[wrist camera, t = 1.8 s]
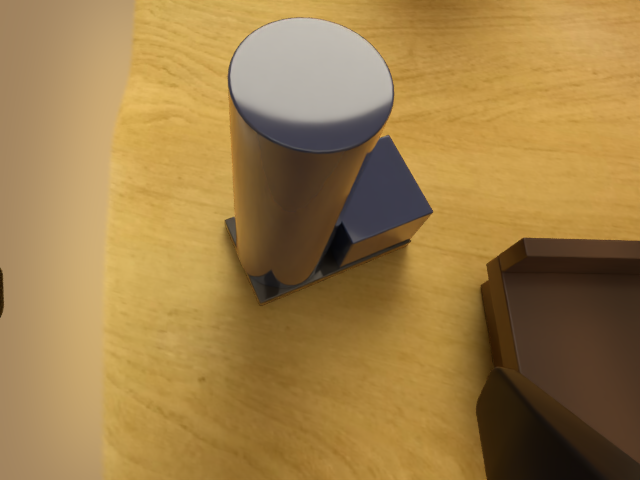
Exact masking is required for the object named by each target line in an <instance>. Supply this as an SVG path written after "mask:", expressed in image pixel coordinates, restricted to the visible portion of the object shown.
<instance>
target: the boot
mask: <svg viewBox="0 0 640 480" xmlns="http://www.w3.org/2000/svg"><path fill="white" fill-rule="evenodd" d="M228 96H229V115H230V134H231V153H232V173H233V192H234V211H235V217H232V218H229V219H226V220H225V227H226V229H227V231H228V234H229V236H230V238H231V241H232V243H233V245H234V248H235V250H236V252H237V255H238V258H239V261H240V263H241V265H242V267H243V269H244V271H245V273H246V276H247V278H248V280H249V283H250V285H251V287H252V290H253V292H254V294H255V297H256V299H257V301H258V304H259V306H263V305H265V304H268V303H270V302H272V301H275V300H277V299H280V298H282V297H285V296H287V295H289V294H292V293H294V292H297V291H299V290H301V289H304V288H306V287H309V286H311V285H313V284H316V283H318V282H321V281H323V280H326V279H328V278H330V277H333V276H335V275H338V274H340V273H342V272H345V271H347V270H350V269H352V268H355V267H357V266H359V265H362V264H364V263H367V262H369V261H371V260H374V259H376V258H379V257H381V256H384V255H386V254H388V253H391V252H393V251H396V250H398V249H400V248H403V247H405V246H407V245H408V244H409V243H410V242H411V240H410V239H411V238H412V237H413V235H414V234H415V233H416V232H417V231H418V229H419V228H420V227H421V226H422V225H423V224H424V222H425V221H426V220H427V219H428V218H429V217H430V215H431V214H432V213H433V210H432V208H431V207H430V205H429V203H428V202H427V200H426V198H425V196H424V195H423V193H422V191H421V189H420V188H419V186H418V184H417V183H416V181H415V179H414V177H413V176H412V174H411V172H410V170H409V169H408V167H407V165H406V164H405V162H404V160H403V158H402V157H401V155H400V153H399V151H398V150H397V148H396V146H395V145H394V143H393V141H392V139H391V138H390V136H389V135H387V136H384V137H381V138H380V136H381V134H382V131H383V129H384V127H385V125H386V122H387V120H388V118H389V116H390V114H391V111H392V107H393V102H394V85H393V80H392V76H391V73H390V71H389V68H388V66H387V64H386V62H385V61H384V59H383V58H382V56H381V55H380V53H379V52H378V51H377V50H376V49H375V48H374V47H373V46H372V45H371V44H370V43H369V42H368V41H367V40H366V39H364V38H363V37H361V36H360V35H359V34H357V33H355V32H354V31H352V30H350V29H348V28H346V27H344V26H342V25H339V24H336V23H333V22H330V21H326V20H322V19H316V18H302V17H299V18H288V19H282V20H278V21H275V22H271V23H269V24H266V25H264V26H262V27H260V28H258V29H257V30H255V31H253V32H252V33H251V34H250V35H248V36H247V37H246V38H245V39H244V40H243V41H242V42H241V43H240V45H239V46H238V48H237V49H236V51H235V52H234V54H233V57H232V59H231V61H230V65H229V69H228Z"/></svg>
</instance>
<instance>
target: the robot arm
mask: <svg viewBox="0 0 640 480" xmlns="http://www.w3.org/2000/svg"><path fill="white" fill-rule="evenodd" d="M3 296H4V295H3V273H2V270H1V268H0V317H1V315H2V313H3V308H4V297H3ZM476 415H477V421H478V427H479V433H480V440H481V446H482V452H483V458H484V464H485V471H486V477H487V480H640V464H639V463H638V462H637V461H635V460H634V459H633V458H631V457H630V456H629V455H627V454H626V453H625V452H623V451H622V450H621V449H619V448H618V447H617V446H616V445H614V444H613V443H612V442H610V441H609V440H608V439H606V438H605V437H604V436H602V435H601V434H600V433H598V432H597V431H596V430H595V429H593V428H592V427H591V426H589V425H588V424H587V423H585V422H584V421H583V420H581V419H580V418H579V417H577V416H576V415H575V414H573V413H572V412H571V411H570V410H568V409H567V408H566V407H564V406H563V405H562V404H560V403H559V402H558V401H556V400H555V399H554V398H552V397H551V396H550V395H549V394H547V393H546V392H545V391H543V390H542V389H541V388H539V387H538V386H537V385H535V384H534V383H533V382H531V381H530V380H529V379H527V378H526V377H525V376H524V375H522V374H521V373H520V372H518V371H516V370H513V369H508V368H503V367H495V368H493V369H492V370H491V372H490V373H489V376H488V378H487V380H486V382H485V385H484V387H483V389H482V391H481V394H480V396H479V398H478V401H477V406H476Z"/></svg>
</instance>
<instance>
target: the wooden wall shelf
mask: <svg viewBox="0 0 640 480" xmlns="http://www.w3.org/2000/svg"><path fill="white" fill-rule="evenodd" d="M486 266H487V272H488V277H489V280H488V281H486V282H485V283H483V284H482V285H481V290H482V296H483V302H484V308H485V314H486V321H487V327H488V333H489V339H490V345H491V351H492V358H493V364H494V368H495V367H503V368H508V369H513V370H516V371H518V372H520V373H521V374H522V375H524V376H525V377H526V378H527V379H529V380H530V381H531V382H533V383H534V384H535V385H537V386H538V387H539V388H541V389H542V390H543V391H545V392H546V393H547V394H549V395H550V396H551V397H552V398H554V399H555V400H556V401H558V402H559V403H560V404H562V405H563V406H564V407H566V408H567V409H568V410H570V411H571V412H572V413H573V414H575V415H576V416H577V417H579V418H580V419H581V420H583V421H584V422H585V423H587V424H588V425H589V426H591V427H592V428H593V429H595V430H596V431H597V432H598V433H600V434H601V435H602V436H604V437H605V438H606V439H608V440H609V441H610V442H612V443H613V444H614V445H616V446H617V447H618V448H619V449H621V450H622V451H623V452H625V453H626V454H627V455H629V456H630V457H631V458H633V459H634V460H635V461H637V462H638V463H639V464H640V241H624V240H587V239H551V238H522V239H521V240H519V241H518V242H517V243H515V244H514V245H512V246H511V247H510V248H508V249H507V250H505V251H504V252H502V253H501V254H500V255H499V256H497V257H496V258H494V259H493V260H491V261H490V262H488V263H487V265H486Z"/></svg>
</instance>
